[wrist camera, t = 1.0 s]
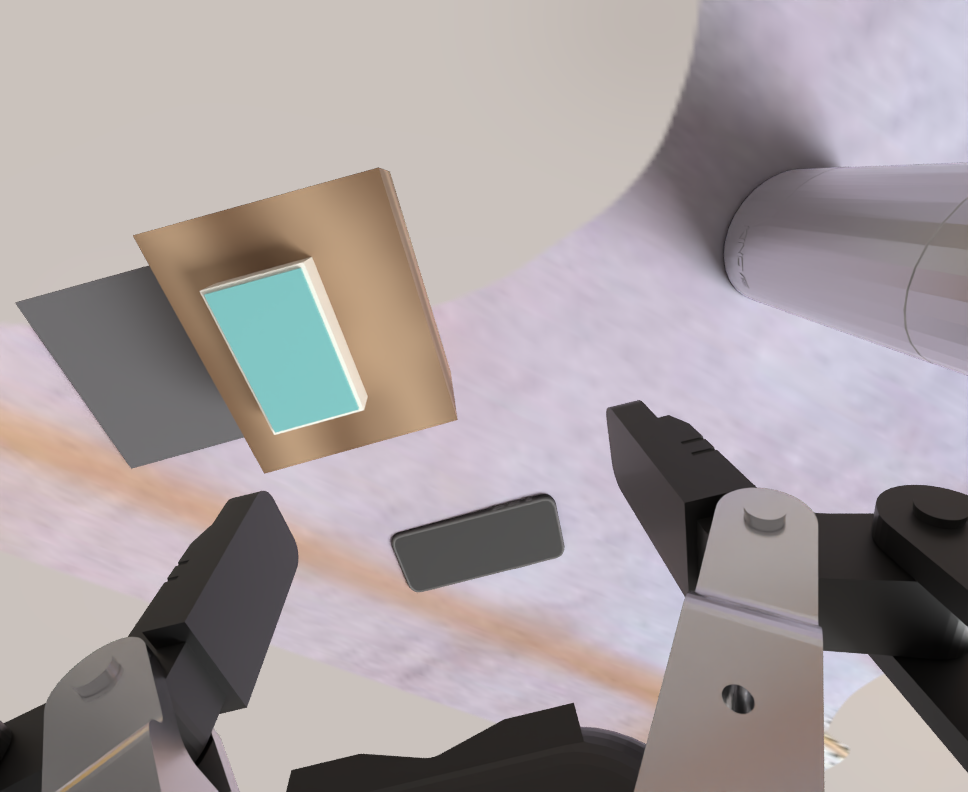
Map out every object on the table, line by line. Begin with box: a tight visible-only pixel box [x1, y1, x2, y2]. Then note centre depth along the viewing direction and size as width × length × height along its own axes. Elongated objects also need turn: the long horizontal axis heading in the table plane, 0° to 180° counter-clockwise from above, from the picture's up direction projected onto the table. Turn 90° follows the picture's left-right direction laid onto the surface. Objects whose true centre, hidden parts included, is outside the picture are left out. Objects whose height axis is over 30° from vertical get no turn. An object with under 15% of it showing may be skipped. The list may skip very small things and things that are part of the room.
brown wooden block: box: [133, 168, 457, 474], centre depth 29 cm, size 12×14×8 cm
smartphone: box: [392, 494, 564, 592], centre depth 42 cm, size 7×1×15 cm
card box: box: [200, 257, 368, 435], centre depth 24 cm, size 5×8×2 cm, turn 14°
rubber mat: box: [16, 266, 244, 469], centre depth 32 cm, size 13×13×1 cm
